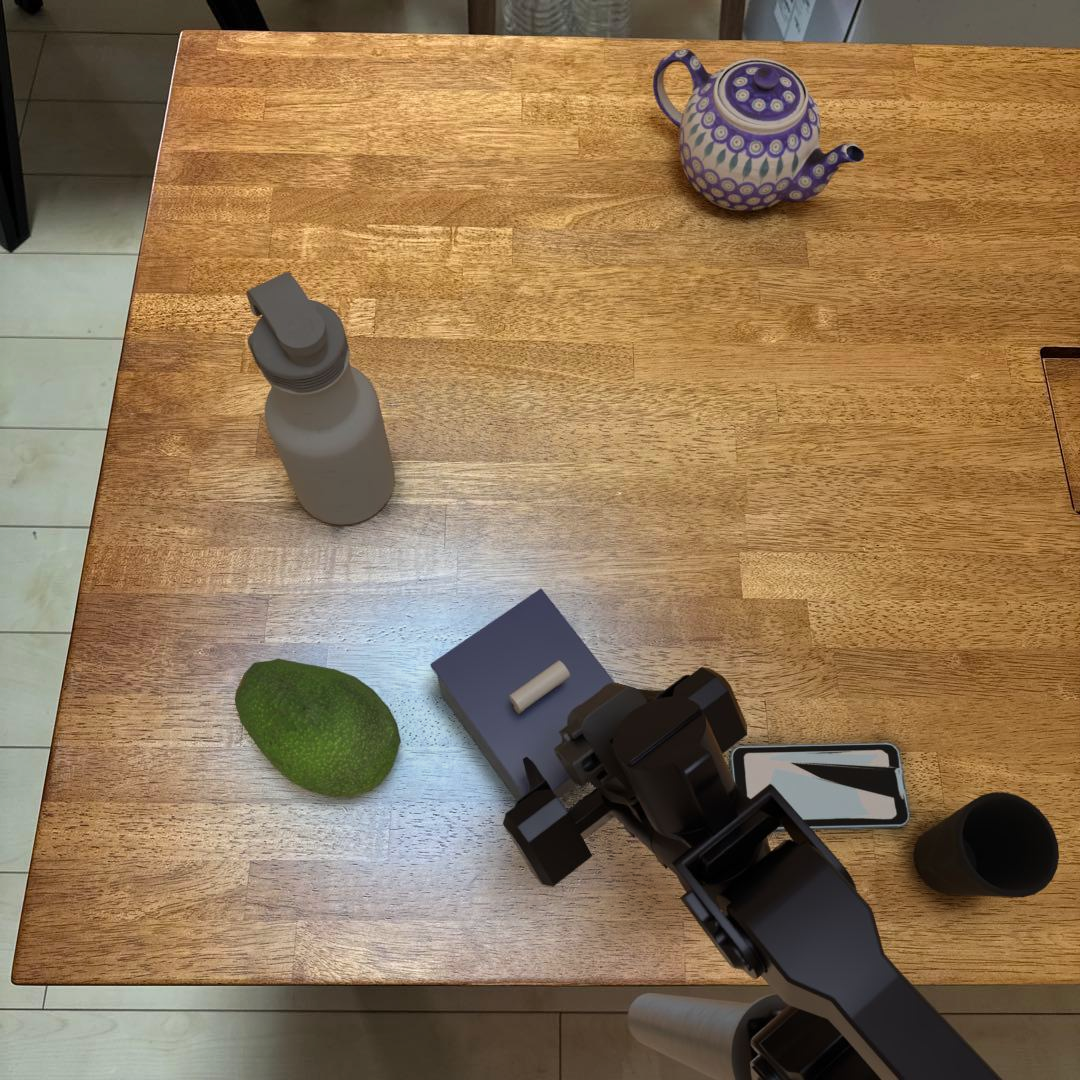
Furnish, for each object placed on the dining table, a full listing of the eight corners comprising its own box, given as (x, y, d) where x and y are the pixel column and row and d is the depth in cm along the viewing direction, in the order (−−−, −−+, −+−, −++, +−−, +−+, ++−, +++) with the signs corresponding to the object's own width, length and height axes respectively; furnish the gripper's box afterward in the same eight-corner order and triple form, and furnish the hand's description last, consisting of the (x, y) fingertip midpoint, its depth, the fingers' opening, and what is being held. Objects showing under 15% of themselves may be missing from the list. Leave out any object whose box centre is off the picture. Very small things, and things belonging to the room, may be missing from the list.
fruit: (222, 730, 90) (189, 702, 81) (295, 643, 94) (272, 606, 84) (354, 832, 87) (336, 815, 78) (426, 738, 90) (417, 711, 81)
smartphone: (729, 745, 90) (898, 741, 90) (727, 747, 91) (894, 743, 91) (737, 831, 87) (911, 827, 87) (735, 832, 88) (908, 828, 88)
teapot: (610, 161, 117) (623, 52, 104) (687, 86, 122) (710, -27, 109) (791, 276, 112) (831, 178, 98) (865, 193, 117) (912, 88, 103)
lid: (430, 666, 86) (426, 651, 82) (540, 591, 89) (542, 572, 85) (532, 808, 82) (533, 799, 78) (644, 723, 85) (651, 710, 81)
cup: (888, 879, 87) (943, 865, 76) (917, 799, 90) (975, 774, 79) (974, 924, 86) (1043, 916, 75) (1001, 841, 88) (1072, 822, 77)
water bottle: (276, 465, 101) (197, 289, 75) (363, 420, 103) (315, 234, 77) (325, 545, 97) (259, 390, 72) (414, 497, 100) (381, 329, 74)
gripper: (757, 649, 65) (630, 579, 78) (521, 828, 60) (428, 721, 73) (807, 772, 70) (679, 687, 83) (592, 947, 65) (493, 826, 78)
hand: (574, 726), depth 79 cm, fingers open, 9 cm apart
